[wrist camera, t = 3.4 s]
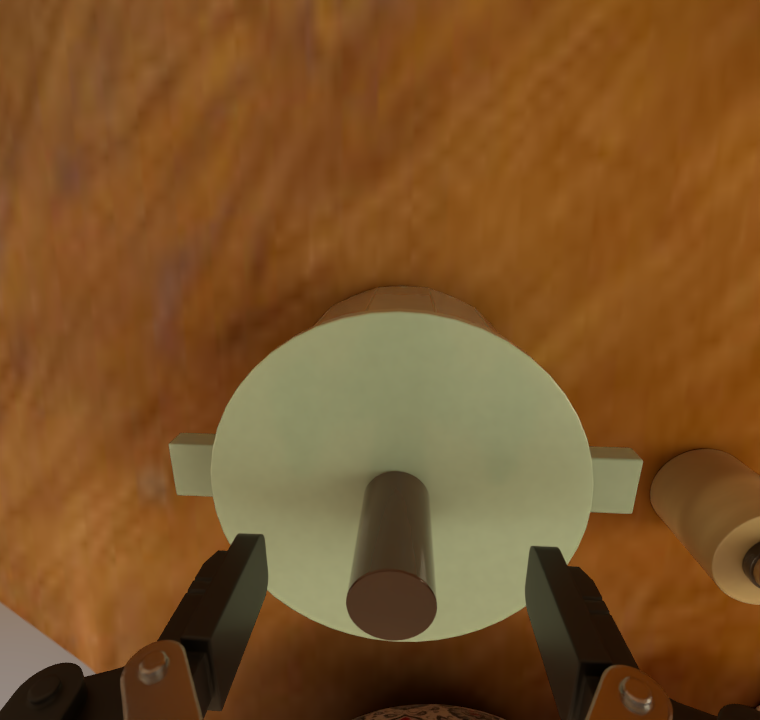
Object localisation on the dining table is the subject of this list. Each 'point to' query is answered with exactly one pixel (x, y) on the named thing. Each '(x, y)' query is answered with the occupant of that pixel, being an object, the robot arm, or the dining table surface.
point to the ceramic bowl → (428, 713)
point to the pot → (610, 464)
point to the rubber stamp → (714, 516)
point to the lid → (401, 473)
